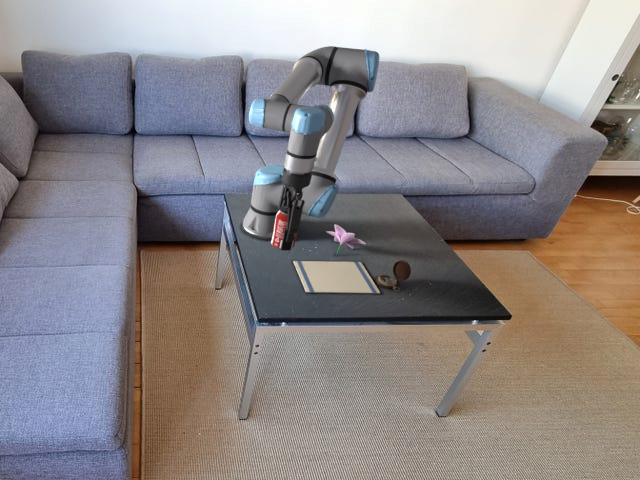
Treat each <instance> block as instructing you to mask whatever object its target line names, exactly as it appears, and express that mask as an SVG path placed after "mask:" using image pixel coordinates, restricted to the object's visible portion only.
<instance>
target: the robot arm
mask: <svg viewBox="0 0 640 480" xmlns="http://www.w3.org/2000/svg"><path fill="white" fill-rule="evenodd" d="M380 59H381V58H380V53H379V52H378V51H375V50H371V49H367V48H364V49H362V48H361V49H360V48H351V47H343V46H342V47H341V46H334V45H328V46H322V47H319V48H316V49H314V50H311V51H309V52H307V53H305V54H304V55H303V56H301V57H300V58H299V59H298V60H297V61H296V62H295V63H294V65H293V67H292V69H291V73H290V74H289V75H288V76H287V77H286V78H285V79H284V80H283V81H282V83H281V84H280V85H278V87H277V88H276V89H275V90H274V91H273V92H272V93H271V95H269V97H267V98H265V97H264V98H263V97H262V98H261V97H260V98H259V97H257V98H255V99H254V100H253V101H252V103H251V105H250V107H249V113H248V121H249V124H250V125H251V126H253V127H257V128H261V129H266V130H267V129H268V130H272V131H279V132H283V133H288V134H289V139H288V144H287V150H286V153H285V158H284V164H283V165H282V164H271V165H265V166H262V167H260V168H259V169H257V171H256V172H255V175H254V180H253V183H252V184H253V185H252V193H251V200H250V208H249V209H248V211H247V213H246V214H245V217H244V219H243V220H242V227H241V228H242V230H243V231H244V233H245V234H246V235H248V236H250V237H252V238H254V239H258V240H263V241H271V240H272V235H273V229H274V224H275V219H276V214H277V212H278V211H279V210H280V208H281V207H282V206H287V207H288V217H287V227H286V229H284V236H283V241H282V245H281V250H280V251H283V250H285V251H291V250H292V249H291V247H292V242H293V238H294V233H297V234H299V231H300V225H301V221H302V215H305V216H307V217H312V218H318V219H320V218H321V219H322V218H324V217H325V216H326V215H327V214H328V212H329V211H330V209H331V208H332V206H333V204H334V202H335V200H336V197H337V195H338V192H339V190H340V186H339V185H338V184H337V177H336V175H335V171H336V168H337V165H338V163H339V159H340V157H341V154H342V151H343V148H344V145H345V142H346V140H347V137H348V133H349V130H350V128H351V125H352V122H353V119H354V116H355V114H356V110H357V108H358V105H359V102H361V101H362V100H364V99H365V98H366V97H367V94H368V93H372V92H374V90H375V86H376V83H377V78H378V72H379V66H380ZM316 85H319V86H326V87H328V92H329V94H330V95H331V97H330V99H329V102H328V104H327V105H326V104H316V105H313V106H311V105H310V106H309V105H303V104H298V103H299V102H300V101H301V99H302V98H303V97H304V96H305V94H306V93H308V91H309V90H310V88H314V87H315V86H316Z"/></svg>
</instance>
